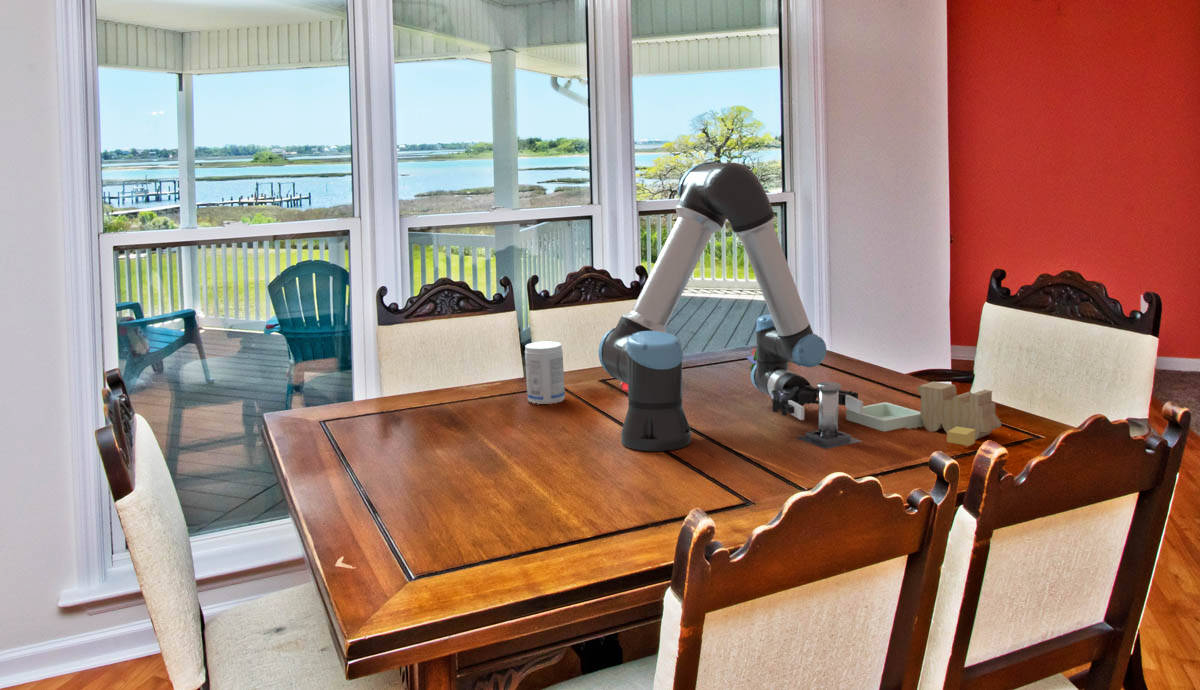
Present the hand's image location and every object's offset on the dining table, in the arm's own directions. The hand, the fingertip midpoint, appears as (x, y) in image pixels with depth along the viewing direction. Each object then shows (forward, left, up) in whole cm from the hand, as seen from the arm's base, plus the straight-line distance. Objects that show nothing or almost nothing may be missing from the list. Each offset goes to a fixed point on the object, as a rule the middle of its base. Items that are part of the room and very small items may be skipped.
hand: (832, 410), depth 214 cm
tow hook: (-8, +67, -7) cm, 68 cm away
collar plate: (0, +1, -7) cm, 7 cm away
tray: (+20, +5, -7) cm, 21 cm away
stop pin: (0, +1, -6) cm, 6 cm away
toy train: (+28, -9, -7) cm, 30 cm away
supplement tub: (-34, +69, -7) cm, 77 cm away
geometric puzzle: (+32, +67, -7) cm, 74 cm away
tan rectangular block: (+22, -15, -7) cm, 27 cm away
